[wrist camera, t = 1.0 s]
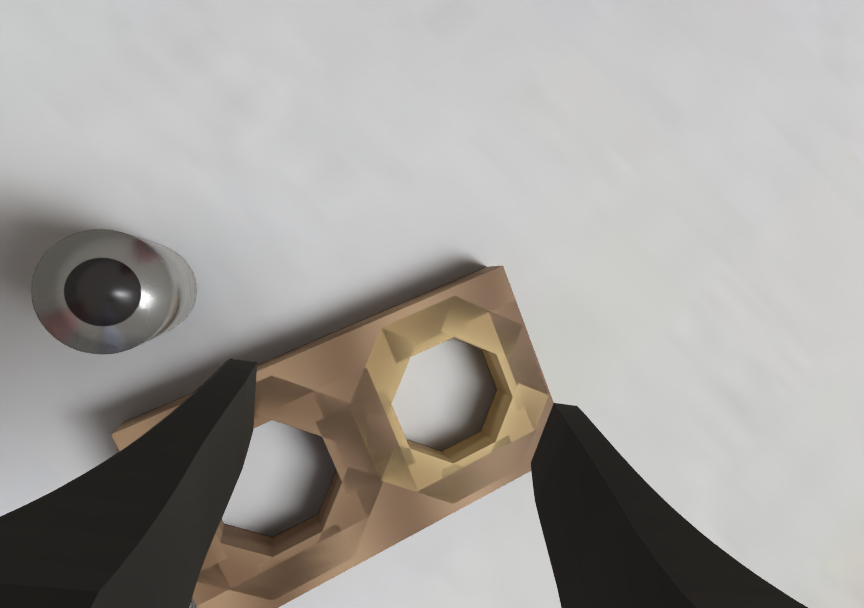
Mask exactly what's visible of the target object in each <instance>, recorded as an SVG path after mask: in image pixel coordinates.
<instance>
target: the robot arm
mask: <svg viewBox="0 0 864 608" xmlns="http://www.w3.org/2000/svg"><path fill="white" fill-rule="evenodd" d="M256 374H257V363H255V362H248V361H241V360H233V359H230V360H228V361H227V362H225V363H224V364H223V365H222V366H221V367H220V368H219V369H218V370H217V371H216V372H215V373H214V374H213V375H212V376H211V377H210V378H209V379H208V380H207V381H206V382H205V383H204V384H203V385H202V386H201V387H199V388H198V389H197V390H196V391H195V392H194V393H193V394H192V395H191V396H190V397H188V398H187V399H186V400H185V401H184V402H183V403H182V404H180V405H179V406H178V407H177V408H176V409H175V410H173V411H172V412H171V413H170V414H169V415H168V416H166V417H165V418H164V419H163V420H161V421H160V422H159V423H157V424H156V425H155V426H154V427H152V428H151V429H150V430H148V431H147V432H146V433H145V434H143V435H142V436H141V437H139V438H138V439H137V440H135V441H134V442H132V443H131V444H130V445H128V446H127V447H125V448H124V449H122V450H121V451H120V452H118V453H117V454H115V455H114V456H112V457H110V458H109V459H107V460H106V461H104V462H103V463H101V464H100V465H98V466H96V467H95V468H93V469H91V470H90V471H88V472H86V473H85V474H83V475H81V476H80V477H78V478H76V479H74V480H72V481H71V482H69V483H67V484H65V485H64V486H62V487H60V488H58V489H56V490H55V491H53V492H51V493H49V494H47V495H45V496H43V497H41V498H39V499H37V500H35V501H33V502H31V503H29V504H27V505H25V506H22V507H20V508H18V509H16V510H14V511H12V512H10V513H7V514H5V515H3V516H1V517H0V608H189V606H190V603H191V600H192V596H193V593H194V590H195V587H196V583H197V580H198V577H199V574H200V571H201V568H202V566H203V563H204V560H205V557H206V555H207V552H208V550H209V548H210V545H211V543H212V540H213V538H214V536H215V533H216V531H217V528H218V526H219V524H220V521H221V519H222V516H223V514H224V512H225V509H226V507H227V505H228V502H229V500H230V497H231V495H232V493H233V490H234V488H235V485H236V483H237V480H238V478H239V476H240V473H241V471H242V468H243V465H244V461H245V458H246V454H247V451H248V447H249V444H250V440H251V436H252V433H253V428H254V410H255V392H256ZM531 471H532V480H533V489H534V496H535V502H536V507H537V511H538V515H539V519H540V523H541V527H542V531H543V535H544V538H545V542H546V546H547V550H548V554H549V557H550V561H551V565H552V569H553V573H554V577H555V580H556V584H557V588H558V593H559V598H560V602H561V607H562V608H808V607H806V606H804V605H803V604H801V603H799V602H797V601H796V600H794V599H793V598H791V597H789V596H788V595H786V594H785V593H783V592H782V591H780V590H779V589H777V588H776V587H774V586H773V585H771V584H770V583H768V582H767V581H765V580H764V579H762V578H761V577H759V576H758V575H756V574H755V573H753V572H752V571H751V570H749V569H748V568H746V567H745V566H743V565H742V564H741V563H739V562H738V561H737V560H735V559H734V558H733V557H731V556H730V555H729V554H727V553H726V552H725V551H723V550H722V549H721V548H719V547H718V546H717V545H715V544H714V543H713V542H712V541H710V540H709V539H708V538H707V537H706V536H704V535H703V534H702V533H701V532H699V531H698V530H697V529H696V528H695V527H694V526H692V525H691V524H690V523H689V522H688V521H687V520H686V519H684V518H683V517H682V516H681V515H680V514H679V513H678V512H676V511H675V510H674V509H673V508H672V507H671V506H670V505H669V504H668V503H667V502H666V501H665V500H664V499H663V498H662V497H661V496H660V495H659V494H657V493H656V492H655V491H654V490H653V489H652V488H651V487H650V486H649V485H648V484H647V483H646V482H645V481H644V479H643V478H642V477H641V476H640V475H639V474H638V473H637V472H636V471H635V470H634V469H633V468H632V467H631V466H630V465H629V464H628V462H627V461H626V460H625V459H624V458H623V457H622V456H621V455H620V454H619V453H618V451H617V450H616V449H615V448H614V447H613V446H612V445H611V443H610V442H609V441H608V440H607V439H606V438H605V437H604V435H603V434H602V433H601V432H600V431H599V430H598V429H597V427H596V426H595V425H594V424H593V423H592V422H591V421H590V419H589V418H588V417H587V416H586V415H585V414H584V413H583V412H582V411H581V410H580V409H579V408H578V407H577V406H572V405H565V404H558V403H553V406H552V409H551V411H550V414H549V416H548V419H547V422H546V424H545V427H544V429H543V432H542V435H541V437H540V440H539V442H538V445H537V448H536V450H535V453H534V456H533V458H532V461H531Z"/></svg>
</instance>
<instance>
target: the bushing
mask: <svg viewBox="0 0 864 608" xmlns="http://www.w3.org/2000/svg"><path fill="white" fill-rule="evenodd" d="M31 293H32V302H33V306H34V309H35V312H36V314H37V316H38V318H39V320H40V322H41V323H42V325H43V326H44V327H45V328H46V330H47V331H48V332H49V333H50V334H51V335H52V336H53V337H55V338H56V339H57V340H59V341H60V342H61V343H63V344H65V345H67V346H69V347H71V348H73V349H76V350H79V351H82V352H86V353H92V354H113V353H118V352H123V351H126V350H129V349H132V348H134V347H136V346H138V345H140V344H142V343H144V342H146V341H148V340H150V339H152V338H154V337H156V336H158V335H160V334H162V333H164V332H166V331H168V330H170V329H172V328H174V327H175V326H177V325H179V324H180V323H181V322H182V321H183V320H184V319H185V318H186V317H187V316H188V314H189V313H190V312H191V310H192V308H193V306H194V303H195V300H196V294H197V286H196V280H195V276H194V274H193V271H192V269H191V268H190V266H189V265H188V263H187V262H186V261H185V260H184V259H183V258H182V257H181V256H180V255H179V254H178V253H176V252H174V251H173V250H171V249H169V248H167V247H164V246H161V245H158V244H155V243H152V242H149V241H146V240H143V239H140V238H137V237H134V236H131V235H128V234H125V233H122V232H118V231H113V230H103V229H101V230H88V231H83V232H79V233H76V234H73V235H71V236H68V237H66V238H64V239H63V240H61V241H59V242H58V243H56V244H55V245H54V246H53V247H51V248H50V249H49V250H48V251H47V252H46V254H45V255H44V256H43V257H42V259H41V260H40V262H39V264H38V266H37V267H36V270H35V273H34V276H33V280H32V290H31Z"/></svg>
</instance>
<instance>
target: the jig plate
mask: <svg viewBox="0 0 864 608" xmlns="http://www.w3.org/2000/svg"><path fill="white" fill-rule="evenodd" d="M451 338H455V339H457V340H460V341H462V342H465V343H467V344H470V345H472V346H474V347H477V348H479V349H481V350H482V352H483V355H484V357H485V360H486V363H487V365H488V368H489V370H490V373H491V376H492V378H493V381H494V383H495V386H496V389H497V391H496V393H495V396H494V399H493V401H492V404H491V406H490V409H489V411H488V414H487V417H486V419H485V422H484V424H483V427H482V429H481V432H479V433H477V434H475V435H473V436H471V437H469V438H467V439H465V440H463V441H461V442H459V443H457V444H455V445H453V446H451V447H449V448H447V449H445V450H443V451H438V450H435V449H433V448H430V447H427V446H424V445H421V444H418V443H415V442H413V441H410V440H407V439H406V438H405V435H404V433H403V431H402V428H401V426H400V423H399V421H398V419H397V416H396V414H395V411H394V409H393V406H392V401H393V399H394V396H395V394H396V391H397V389H398V386H399V384H400V381H401V379H402V376H403V374H404V372H405V369H406V367H407V364H408V362H409V359H410V357H411V356H413V355H416V354H418V353H420V352H422V351H424V350H427V349H429V348H431V347H433V346H435V345H438V344H440V343H442V342H444V341H446V340H449V339H451ZM192 394H193V393H191V394H189V395H187V396H184V397H182V398H180V399H177V400H175V401H173V402H170V403H168V404H166V405H163V406H161V407H159V408H156V409H154V410H152V411H149V412H147V413H145V414H142V415H140V416H138V417H135V418H133V419H131V420H128V421H126V422H124V423H122V424H121V425H120V426H119V427H118V428H117V429H116V430H115V431H114V432H113V433H112V434H111V436H112V438H113V440H114V442H115V444H116V446H117V448H118V450H119V452H120V451H121V450H122V449H124V448H125V447H127V446H128V445H130V444H131V443H132V442H134V441H135V440H137V439H138V438H139V437H141V436H142V435H143V434H145V433H146V432H147V431H148V430H150V429H151V428H152V427H154V426H155V425H156V424H157V423H159V422H160V421H161V420H163V419H164V418H165V417H166V416H168V415H169V414H170V413H171V412H172V411H173V410H175V409H176V408H177V407H178V406H179V405H180V404H182V403H183V402H184V401H185V400H186V399H187V398H188V397H190V396H191V395H192ZM552 406H553V400H552V397H551V395H550V392H549V389H548V386H547V384H546V381H545V378H544V376H543V373H542V370H541V368H540V365H539V362H538V359H537V357H536V354H535V351H534V349H533V346H532V343H531V340H530V338H529V335H528V332H527V330H526V327H525V324H524V322H523V319H522V316H521V313H520V311H519V308H518V305H517V303H516V300H515V297H514V294H513V292H512V289H511V286H510V284H509V281H508V278H507V276H506V273H505V270H504V267H503V266H491V267H486V268H483V269H481V270H479V271H476V272H474V273H472V274H469V275H467V276H465V277H462V278H460V279H458V280H455V281H453V282H451V283H448V284H446V285H444V286H441V287H439V288H437V289H434V290H432V291H430V292H427V293H425V294H423V295H420V296H418V297H416V298H413V299H411V300H409V301H406V302H404V303H402V304H399V305H397V306H395V307H392V308H390V309H388V310H385V311H383V312H381V313H378V314H376V315H374V316H371V317H369V318H367V319H364V320H362V321H360V322H357V323H355V324H353V325H350V326H348V327H346V328H343V329H341V330H339V331H336V332H334V333H332V334H329V335H327V336H325V337H322V338H320V339H317V340H315V341H313V342H310V343H308V344H306V345H303V346H301V347H299V348H296V349H294V350H292V351H289V352H287V353H285V354H282V355H280V356H278V357H275V358H273V359H271V360H268V361H266V362H264V363H261V364H259V365H257V374H256V392H255V410H254V428H255V427H257V426H260V425H262V424H264V423H266V422H268V421H271V420H274V421H277V422H280V423H283V424H286V425H289V426H292V427H295V428H298V429H301V430H304V431H307V432H310V433H313V434H316V435H319V436H322V437H323V440H324V442H325V444H326V447H327V449H328V451H329V453H330V456H331V458H332V460H333V463H334V465H335V467H336V472H335V474H334V477H333V479H332V482H331V484H330V487H329V489H328V492H327V494H326V496H325V499H324V501H323V504H322V506H321V509H320V511H319V514H317V515H315V516H313V517H311V518H309V519H307V520H305V521H303V522H301V523H299V524H297V525H295V526H294V527H292V528H290V529H288V530H286V531H284V532H282V533H280V534H278V535H276V536H274V537H270V536H266V535H262V534H259V533H255V532H251V531H248V530H244V529H241V528H237V527H233V526H230V525H226V524H224V523H223V521H222V519H221V521H220V524H219V526H218V528H217V531H216V533H215V536H214V538H213V540H212V543H211V545H210V548H209V550H208V552H207V555H206V557H205V560H204V563H203V566H202V568H201V571H200V574H199V577H198V580H197V583H196V587H195V590H194V593H193V596H192V599H193V601H194V603H195V605H196V607H197V608H278V607H280V606H282V605H284V604H285V603H287V602H289V601H291V600H293V599H295V598H296V597H298V596H300V595H302V594H304V593H306V592H308V591H309V590H311V589H313V588H315V587H317V586H319V585H321V584H322V583H324V582H326V581H328V580H330V579H332V578H333V577H335V576H337V575H339V574H341V573H343V572H345V571H346V570H348V569H350V568H352V567H354V566H356V565H358V564H359V563H361V562H363V561H365V560H367V559H369V558H370V557H372V556H374V555H376V554H378V553H380V552H382V551H383V550H385V549H387V548H389V547H391V546H393V545H395V544H396V543H398V542H400V541H402V540H404V539H406V538H407V537H409V536H411V535H413V534H415V533H417V532H419V531H420V530H422V529H424V528H426V527H428V526H430V525H432V524H433V523H435V522H437V521H439V520H441V519H443V518H444V517H446V516H448V515H450V514H452V513H454V512H456V511H457V510H459V509H461V508H463V507H465V506H467V505H469V504H470V503H472V502H474V501H476V500H478V499H480V498H481V497H483V496H485V495H487V494H489V493H491V492H493V491H494V490H496V489H498V488H500V487H502V486H504V485H506V484H507V483H509V482H511V481H513V480H515V479H517V478H518V477H520V476H522V475H524V474H526V473H528V472H530V471H531V461H532V458H533V456H534V453H535V450H536V448H537V445H538V442H539V440H540V437H541V435H542V432H543V429H544V427H545V424H546V422H547V419H548V416H549V414H550V411H551V409H552Z"/></svg>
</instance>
